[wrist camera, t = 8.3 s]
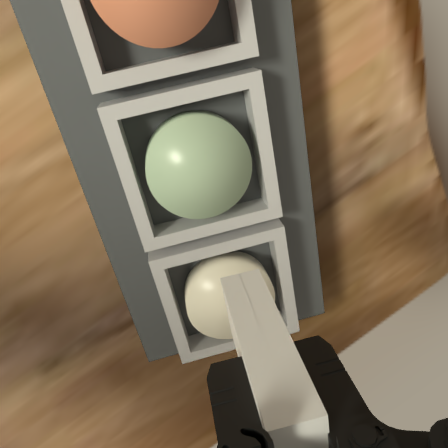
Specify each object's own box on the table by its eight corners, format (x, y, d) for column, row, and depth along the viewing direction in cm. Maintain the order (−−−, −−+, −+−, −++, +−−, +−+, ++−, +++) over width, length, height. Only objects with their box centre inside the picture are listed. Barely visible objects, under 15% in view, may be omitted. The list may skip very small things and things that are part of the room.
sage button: (160, 217, 26) (161, 230, 24) (132, 123, 23) (131, 130, 21) (252, 194, 26) (259, 205, 24) (235, 98, 23) (242, 103, 22)
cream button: (194, 331, 30) (197, 348, 28) (174, 263, 27) (176, 278, 26) (273, 310, 30) (280, 325, 29) (261, 241, 28) (268, 254, 26)
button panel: (148, 335, 34) (149, 380, 29) (-12, -97, 20) (-53, -131, 16) (310, 291, 34) (334, 327, 30) (256, -150, 21) (283, -195, 17)
